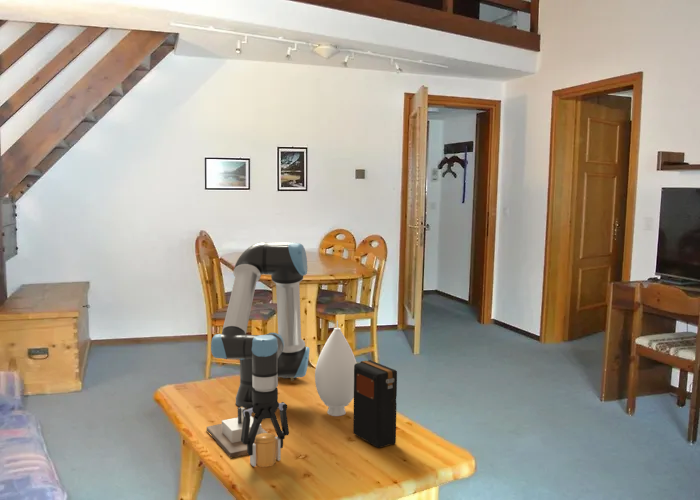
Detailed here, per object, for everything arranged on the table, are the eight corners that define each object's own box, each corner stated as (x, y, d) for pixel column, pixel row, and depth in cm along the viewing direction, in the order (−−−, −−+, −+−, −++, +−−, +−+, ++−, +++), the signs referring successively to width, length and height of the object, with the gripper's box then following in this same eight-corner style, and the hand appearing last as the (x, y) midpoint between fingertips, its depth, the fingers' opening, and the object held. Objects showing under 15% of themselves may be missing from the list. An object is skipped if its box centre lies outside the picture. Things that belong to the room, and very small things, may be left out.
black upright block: (399, 444, 193) (400, 369, 191) (378, 450, 188) (379, 373, 186) (370, 428, 206) (371, 358, 204) (349, 434, 201) (350, 362, 199)
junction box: (250, 426, 203) (250, 400, 202) (261, 436, 194) (261, 410, 194) (221, 432, 198) (221, 405, 197) (232, 442, 189) (231, 415, 189)
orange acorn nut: (270, 456, 183) (270, 431, 182) (277, 463, 178) (277, 438, 178) (252, 460, 180) (252, 435, 180) (259, 468, 175) (259, 442, 175)
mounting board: (250, 422, 211) (250, 418, 211) (278, 447, 190) (278, 442, 190) (206, 430, 202) (206, 426, 202) (230, 457, 182) (230, 453, 182)
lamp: (309, 408, 225) (309, 317, 221) (347, 403, 231) (348, 314, 228) (324, 423, 210) (324, 326, 207) (364, 417, 216) (366, 322, 213)
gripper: (290, 379, 186) (290, 449, 188) (228, 389, 175) (229, 464, 177) (301, 385, 179) (301, 459, 181) (237, 397, 169) (237, 474, 171)
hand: (265, 461), depth 179 cm, fingers open, 7 cm apart
